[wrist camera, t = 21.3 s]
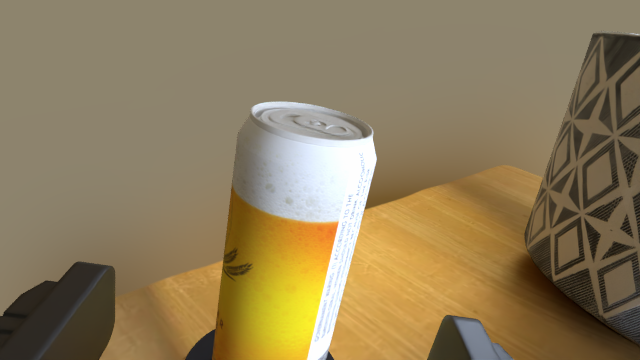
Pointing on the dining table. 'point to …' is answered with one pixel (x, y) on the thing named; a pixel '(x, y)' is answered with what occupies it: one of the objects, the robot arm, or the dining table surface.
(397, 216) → the dining table surface
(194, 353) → the coaster
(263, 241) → the beer can
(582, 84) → the planter
